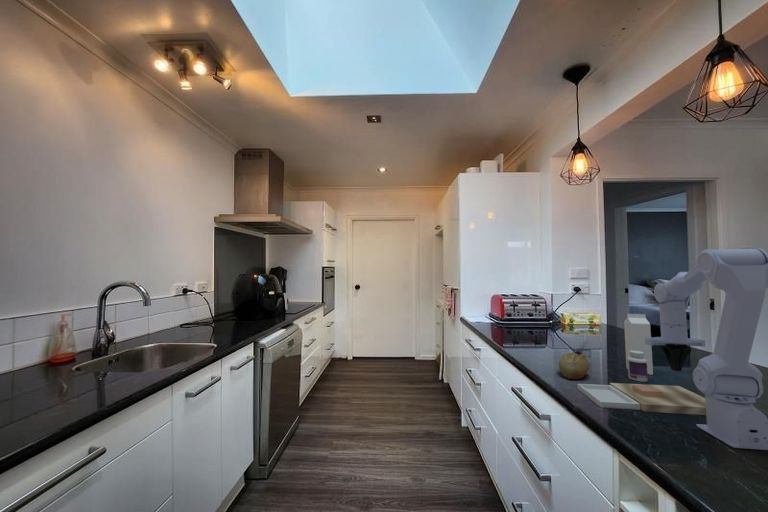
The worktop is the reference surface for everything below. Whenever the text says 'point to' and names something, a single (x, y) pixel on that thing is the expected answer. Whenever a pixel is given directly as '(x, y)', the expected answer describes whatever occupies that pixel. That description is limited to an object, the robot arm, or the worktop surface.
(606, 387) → the tray
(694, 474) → the worktop surface
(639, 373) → the pill bottle
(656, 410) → the chopping board
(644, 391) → the terracotta tile
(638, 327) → the milk
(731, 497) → the worktop surface
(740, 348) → the robot arm
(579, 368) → the bread roll
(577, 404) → the worktop surface
